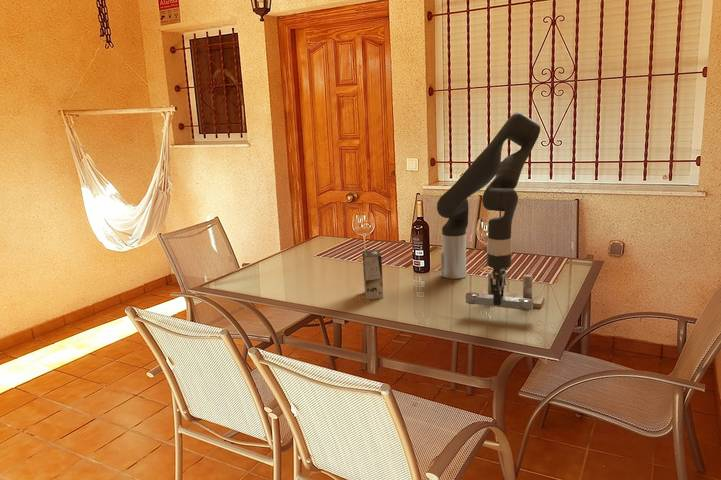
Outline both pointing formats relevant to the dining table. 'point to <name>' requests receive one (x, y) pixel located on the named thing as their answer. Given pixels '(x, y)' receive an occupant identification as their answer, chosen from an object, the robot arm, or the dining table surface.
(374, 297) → the coffee box
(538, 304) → the peg stand
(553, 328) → the dining table surface
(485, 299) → the grey knobbed bar
